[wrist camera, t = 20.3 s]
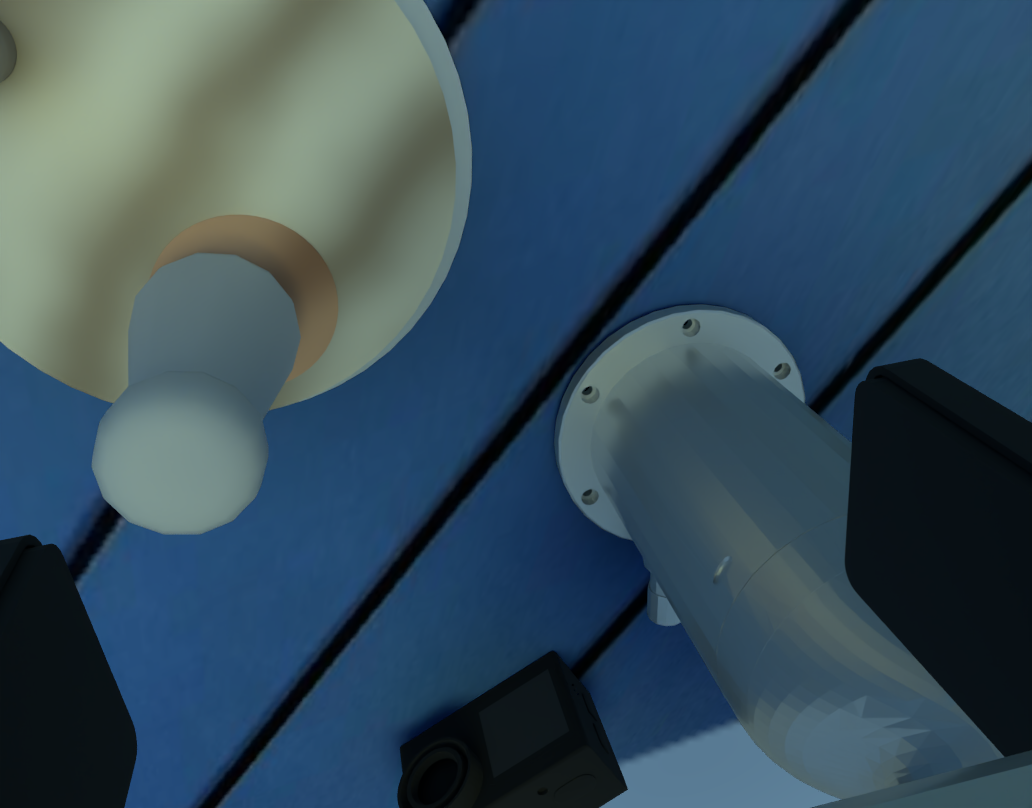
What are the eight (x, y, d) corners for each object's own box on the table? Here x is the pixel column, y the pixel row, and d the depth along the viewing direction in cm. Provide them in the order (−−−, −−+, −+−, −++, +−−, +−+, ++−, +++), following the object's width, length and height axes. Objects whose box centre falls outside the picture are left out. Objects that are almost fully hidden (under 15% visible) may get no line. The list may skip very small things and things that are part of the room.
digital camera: (543, 634, 47) (578, 731, 41) (591, 691, 50) (631, 791, 44) (385, 734, 48) (396, 845, 42) (440, 786, 50) (458, 897, 44)
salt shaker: (280, 395, 35) (264, 591, 24) (129, 361, 33) (33, 556, 22) (317, 260, 33) (319, 402, 22) (158, 216, 31) (70, 346, 20)
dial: (541, 103, 35) (591, 128, 28) (292, 468, 39) (289, 559, 33) (64, -267, 27) (-10, -344, 21) (-178, 240, 31) (-298, 301, 25)
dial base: (483, 381, 40) (486, 388, 39) (-13, 440, 36) (-19, 449, 36) (453, -159, 31) (456, -163, 30) (-212, -152, 27) (-226, -156, 27)
